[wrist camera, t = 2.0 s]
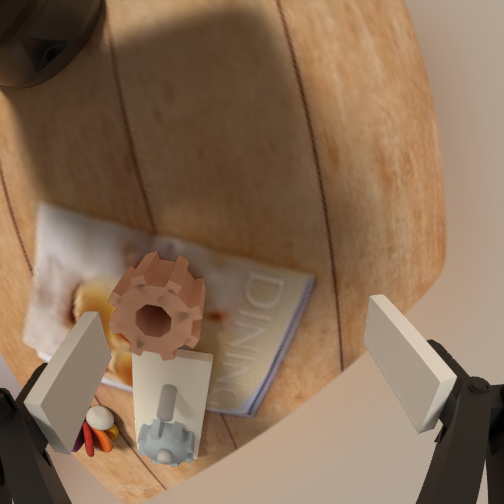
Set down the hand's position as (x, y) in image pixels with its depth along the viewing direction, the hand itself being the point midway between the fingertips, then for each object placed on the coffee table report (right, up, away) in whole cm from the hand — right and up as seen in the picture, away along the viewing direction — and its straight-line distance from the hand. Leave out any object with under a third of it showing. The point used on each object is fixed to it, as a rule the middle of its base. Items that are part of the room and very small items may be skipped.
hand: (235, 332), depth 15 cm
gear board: (-10, -16, +23) cm, 30 cm away
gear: (-8, 0, +17) cm, 19 cm away
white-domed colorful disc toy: (-23, -20, +23) cm, 38 cm away
